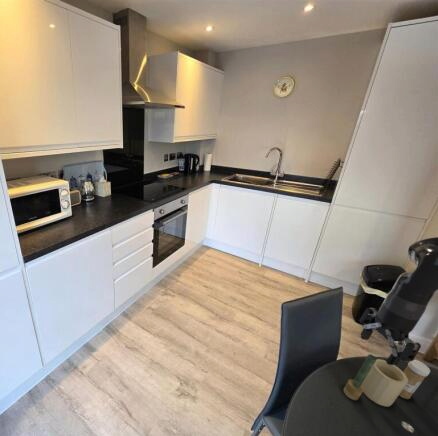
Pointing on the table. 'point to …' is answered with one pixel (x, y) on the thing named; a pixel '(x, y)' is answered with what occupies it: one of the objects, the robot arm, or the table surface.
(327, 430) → the table surface
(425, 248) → the robot arm
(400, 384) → the jar
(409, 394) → the sprinkles bottle
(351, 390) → the brush
